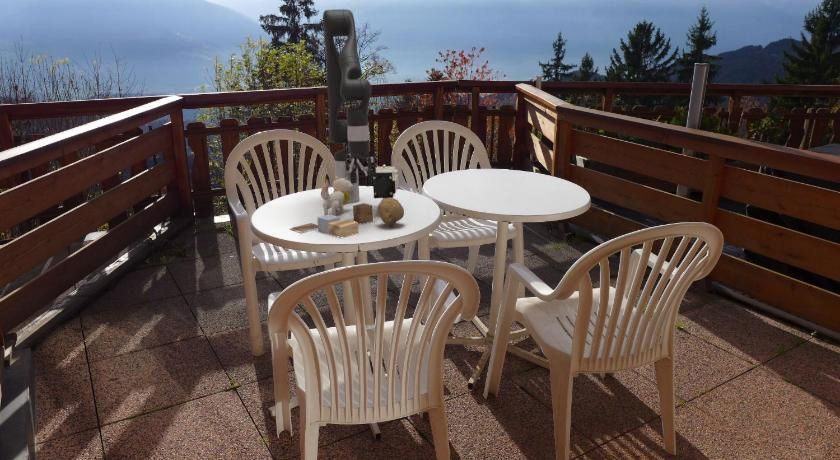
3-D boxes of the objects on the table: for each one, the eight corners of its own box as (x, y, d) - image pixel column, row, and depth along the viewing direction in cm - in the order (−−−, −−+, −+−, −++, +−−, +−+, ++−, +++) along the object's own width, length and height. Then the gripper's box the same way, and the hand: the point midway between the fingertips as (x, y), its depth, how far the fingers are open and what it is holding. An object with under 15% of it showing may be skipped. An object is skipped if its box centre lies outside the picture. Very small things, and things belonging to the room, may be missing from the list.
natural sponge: (403, 221, 205) (402, 194, 202) (405, 228, 197) (404, 200, 194) (377, 223, 204) (376, 195, 201) (379, 230, 196) (378, 201, 193)
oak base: (329, 234, 193) (328, 223, 192) (345, 230, 198) (344, 218, 196) (342, 238, 188) (341, 226, 187) (358, 233, 193) (357, 222, 192)
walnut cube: (353, 221, 207) (352, 205, 205) (364, 218, 210) (363, 203, 208) (362, 224, 203) (361, 207, 202) (373, 221, 207) (372, 205, 205)
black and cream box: (396, 216, 212) (394, 169, 207) (373, 216, 212) (371, 169, 207) (400, 204, 229) (399, 160, 224) (379, 204, 230) (377, 161, 225)
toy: (358, 209, 224) (355, 171, 219) (335, 222, 206) (332, 181, 202) (337, 208, 227) (334, 170, 222) (313, 220, 209) (310, 180, 205)
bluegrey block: (317, 217, 195) (328, 220, 191) (328, 214, 199) (339, 216, 195) (318, 231, 197) (329, 234, 193) (329, 227, 200) (340, 230, 196)
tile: (289, 229, 199) (289, 227, 199) (311, 223, 205) (311, 222, 205) (301, 233, 194) (300, 231, 194) (323, 227, 200) (323, 225, 200)
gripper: (337, 138, 201) (340, 184, 205) (363, 141, 191) (365, 189, 195) (354, 136, 206) (357, 180, 210) (380, 139, 196) (382, 185, 200)
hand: (361, 184), depth 203 cm, fingers open, 8 cm apart
